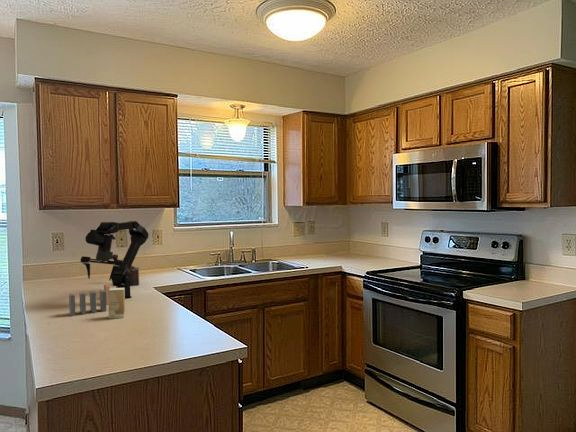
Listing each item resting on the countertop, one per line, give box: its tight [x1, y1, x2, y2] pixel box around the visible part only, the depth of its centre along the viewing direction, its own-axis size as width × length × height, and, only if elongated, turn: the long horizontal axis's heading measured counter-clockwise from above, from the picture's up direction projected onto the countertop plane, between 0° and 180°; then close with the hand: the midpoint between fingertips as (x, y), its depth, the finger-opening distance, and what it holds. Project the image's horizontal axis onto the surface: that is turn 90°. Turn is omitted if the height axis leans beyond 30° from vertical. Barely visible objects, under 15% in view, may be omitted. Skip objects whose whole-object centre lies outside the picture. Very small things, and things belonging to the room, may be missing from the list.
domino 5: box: [103, 284, 111, 306], centre depth 214 cm, size 2×5×9 cm, turn 34°
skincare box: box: [108, 287, 126, 319], centre depth 189 cm, size 6×4×12 cm
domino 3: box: [89, 290, 97, 314], centre depth 199 cm, size 2×5×9 cm, turn 34°
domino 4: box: [99, 289, 107, 313], centre depth 201 cm, size 2×5×9 cm, turn 34°
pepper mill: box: [111, 253, 140, 287], centre depth 263 cm, size 16×11×18 cm
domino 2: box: [78, 291, 87, 315], centre depth 197 cm, size 2×5×9 cm, turn 34°
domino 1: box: [68, 292, 76, 317], centre depth 194 cm, size 2×5×9 cm, turn 34°
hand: (99, 279), depth 212 cm, fingers open, 9 cm apart
